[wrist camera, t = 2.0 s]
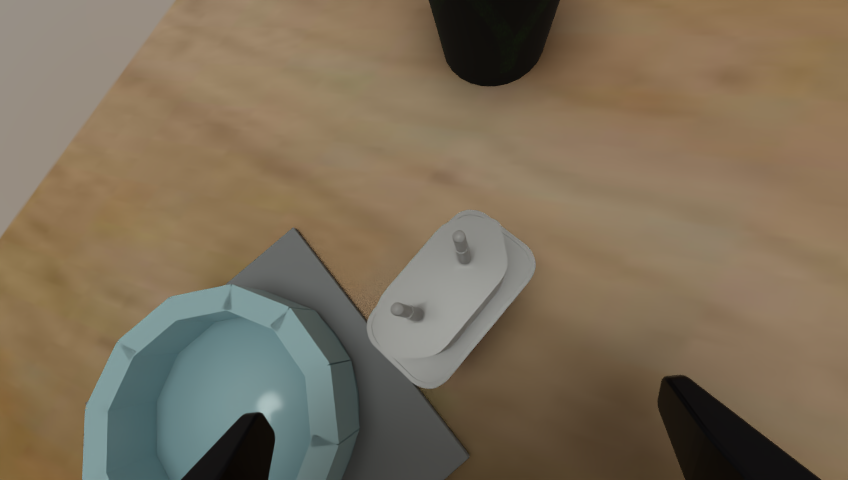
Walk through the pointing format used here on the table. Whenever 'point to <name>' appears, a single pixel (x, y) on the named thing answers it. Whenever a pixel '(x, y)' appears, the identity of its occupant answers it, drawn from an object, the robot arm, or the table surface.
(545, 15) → the cup
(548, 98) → the table surface
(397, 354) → the power adapter
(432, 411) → the mat
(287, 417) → the bowl
